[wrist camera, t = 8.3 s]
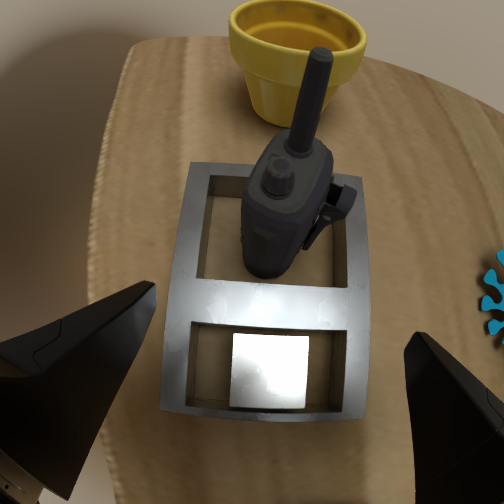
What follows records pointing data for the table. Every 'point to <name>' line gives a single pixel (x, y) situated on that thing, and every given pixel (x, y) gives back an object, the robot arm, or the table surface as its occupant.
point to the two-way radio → (293, 183)
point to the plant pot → (290, 51)
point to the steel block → (269, 371)
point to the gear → (487, 302)
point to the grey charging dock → (265, 306)
